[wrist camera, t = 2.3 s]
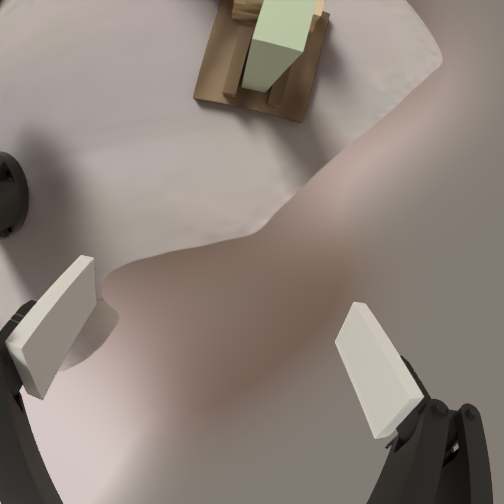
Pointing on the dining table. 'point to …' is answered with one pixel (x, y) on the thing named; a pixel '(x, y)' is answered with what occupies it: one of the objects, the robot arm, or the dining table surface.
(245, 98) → the walnut rack
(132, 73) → the dining table surface
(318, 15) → the offcut stack
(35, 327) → the robot arm
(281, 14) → the tall board
